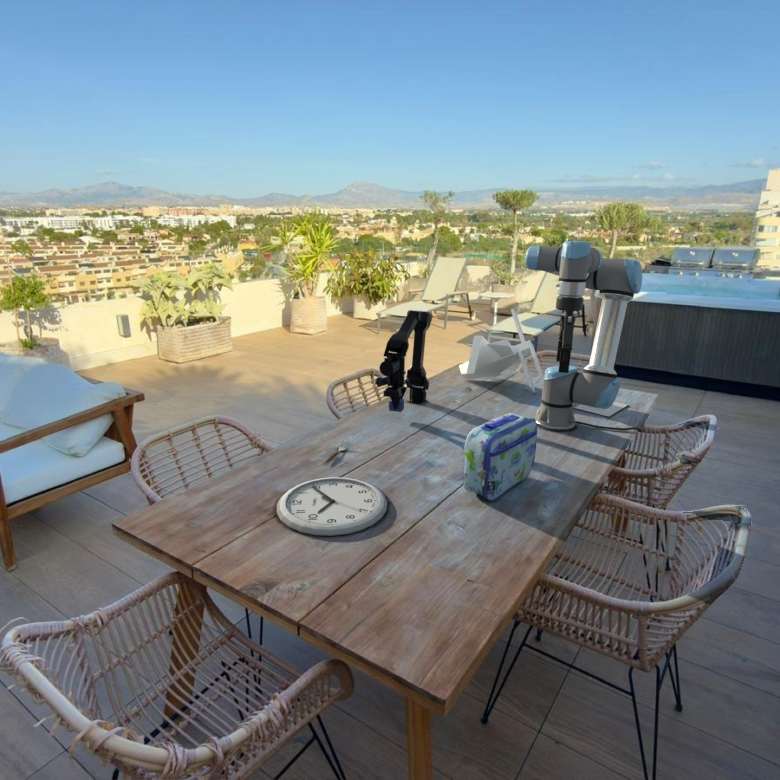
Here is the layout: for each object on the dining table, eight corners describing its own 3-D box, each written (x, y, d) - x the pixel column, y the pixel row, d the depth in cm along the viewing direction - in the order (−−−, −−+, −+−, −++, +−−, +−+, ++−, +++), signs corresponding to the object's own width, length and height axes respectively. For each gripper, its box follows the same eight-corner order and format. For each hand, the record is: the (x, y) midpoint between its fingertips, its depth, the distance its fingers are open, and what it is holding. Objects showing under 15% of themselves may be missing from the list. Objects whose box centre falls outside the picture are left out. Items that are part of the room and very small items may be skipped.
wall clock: (392, 527, 129) (268, 531, 127) (391, 533, 130) (269, 537, 127) (383, 473, 158) (282, 475, 155) (383, 478, 158) (282, 480, 156)
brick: (391, 407, 211) (391, 397, 210) (403, 408, 210) (404, 399, 209) (388, 410, 207) (389, 401, 206) (401, 412, 206) (401, 402, 205)
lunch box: (487, 508, 142) (493, 436, 136) (456, 493, 150) (460, 425, 143) (537, 478, 160) (544, 414, 154) (507, 466, 167) (513, 405, 161)
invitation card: (608, 416, 214) (573, 407, 224) (608, 416, 214) (573, 408, 224) (628, 404, 229) (594, 396, 238) (628, 405, 229) (594, 397, 238)
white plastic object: (480, 422, 262) (459, 399, 237) (462, 348, 284) (440, 320, 259) (552, 397, 249) (538, 371, 225) (527, 322, 271) (511, 291, 247)
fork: (322, 463, 168) (321, 457, 167) (343, 444, 182) (343, 439, 181) (329, 464, 167) (329, 458, 166) (349, 446, 181) (349, 440, 180)
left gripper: (383, 362, 214) (383, 398, 219) (370, 374, 197) (370, 413, 202) (410, 364, 212) (409, 400, 216) (399, 376, 194) (398, 416, 199)
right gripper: (554, 290, 165) (547, 356, 171) (559, 300, 141) (550, 376, 148) (580, 291, 163) (571, 358, 169) (588, 302, 140) (578, 378, 146)
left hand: (396, 407), depth 208 cm, fingers closed on brick, 4 cm apart
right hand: (561, 366), depth 158 cm, fingers open, 13 cm apart
